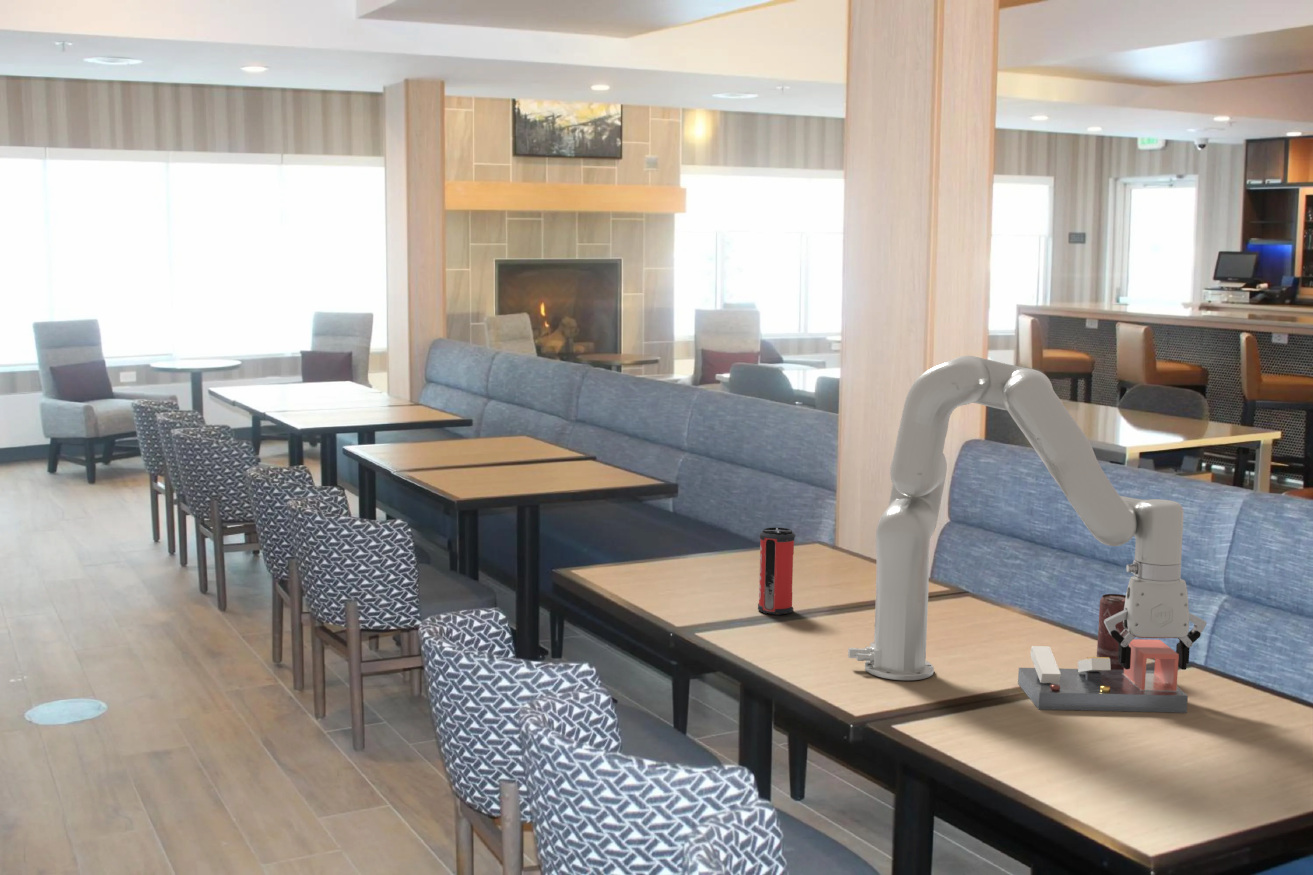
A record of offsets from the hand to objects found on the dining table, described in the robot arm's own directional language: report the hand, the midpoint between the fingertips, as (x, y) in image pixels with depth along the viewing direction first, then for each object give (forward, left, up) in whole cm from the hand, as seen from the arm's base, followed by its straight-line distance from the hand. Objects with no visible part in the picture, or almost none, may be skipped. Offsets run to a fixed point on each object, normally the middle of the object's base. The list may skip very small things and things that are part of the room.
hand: (1152, 667), depth 227 cm
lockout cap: (0, 0, -3) cm, 3 cm away
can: (-1, +17, -6) cm, 18 cm away
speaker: (-62, +55, -6) cm, 83 cm away
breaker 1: (-18, +1, 0) cm, 18 cm away
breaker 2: (-10, +1, 0) cm, 10 cm away
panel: (-9, 0, -6) cm, 11 cm away
